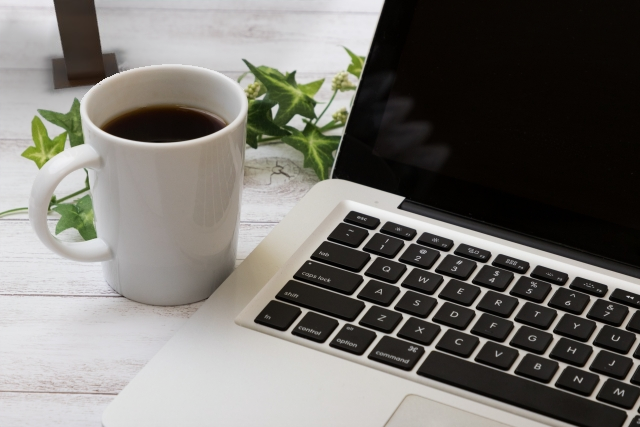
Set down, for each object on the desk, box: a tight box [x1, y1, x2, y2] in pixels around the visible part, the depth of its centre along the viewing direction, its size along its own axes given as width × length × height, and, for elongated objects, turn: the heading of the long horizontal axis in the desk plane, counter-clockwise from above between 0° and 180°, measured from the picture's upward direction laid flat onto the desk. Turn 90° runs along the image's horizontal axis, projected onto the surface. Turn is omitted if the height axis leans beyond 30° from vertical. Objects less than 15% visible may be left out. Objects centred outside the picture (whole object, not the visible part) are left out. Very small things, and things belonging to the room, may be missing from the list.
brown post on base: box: [51, 0, 120, 90], centre depth 80 cm, size 14×7×18 cm, turn 17°
